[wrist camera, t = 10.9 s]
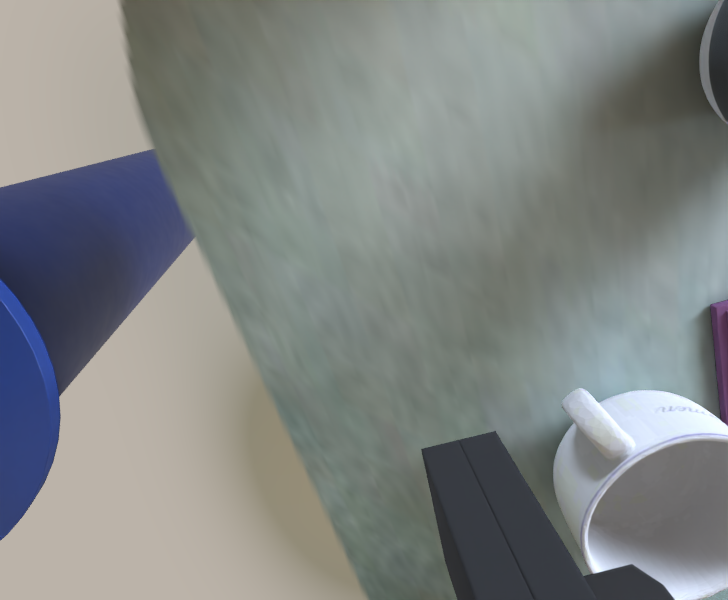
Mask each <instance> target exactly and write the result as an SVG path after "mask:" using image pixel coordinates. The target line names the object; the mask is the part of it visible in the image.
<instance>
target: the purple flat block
mask: <svg viewBox="0 0 728 600" xmlns="http://www.w3.org/2000/svg"><path fill="white" fill-rule="evenodd" d="M710 308H711V319H712V329H713V340H714V350H715V361H716V372H717V382H718V393H719V403H720V414H721V421H722V422H723V423H725V424H726V425H727V426H728V300H725V301H722V302H718V303H715V304H711V305H710Z"/></svg>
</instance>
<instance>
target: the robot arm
mask: <svg viewBox="0 0 728 600" xmlns="http://www.w3.org/2000/svg"><path fill="white" fill-rule="evenodd" d="M421 450H422V455H423V459H424V464H425V469H426V473H427V478H428V483H429V488H430V492H431V497H432V502H433V506H434V511H435V516H436V520H437V525H438V530H439V534H440V539H441V544H442V548H443V553H444V558H445V562H446V565H447V568H448V572H449V575H450V578H451V581H452V584H453V587H454V590H455V594H456V597H457V600H675V599H674V598H673V597H672V595H671V594H670V593H669V591H668V590H667V589H666V587H665V586H664V585H663V584H661V583H660V582H658V581H657V580H655V579H654V578H652V577H651V576H649V575H648V574H646V573H645V572H643V571H642V570H640V569H639V568H637V567H636V566H634V565H633V564H630V565H626V566H622V567H618V568H614V569H610V570H606V571H602V572H598V573H594V574H590V575H586V576H583V575H582V573H581V572H580V570H579V568H578V567H577V565H576V563H575V562H574V560H573V558H572V557H571V555H570V553H569V552H568V550H567V548H566V547H565V545H564V544H563V542H562V540H561V539H560V537H559V535H558V534H557V532H556V530H555V529H554V527H553V525H552V524H551V522H550V520H549V519H548V517H547V515H546V514H545V512H544V511H543V509H542V507H541V506H540V504H539V502H538V501H537V499H536V497H535V496H534V494H533V492H532V491H531V489H530V487H529V486H528V484H527V482H526V481H525V479H524V478H523V476H522V474H521V473H520V471H519V469H518V468H517V466H516V464H515V463H514V461H513V459H512V458H511V456H510V454H509V453H508V451H507V449H506V448H505V446H504V445H503V443H502V441H501V440H500V438H499V436H498V435H497V433H496V431H494V432H490V433H486V434H482V435H477V436H473V437H469V438H465V439H461V440H457V441H453V442H449V443H444V444H440V445H436V446H432V447H428V448H424V449H421Z"/></svg>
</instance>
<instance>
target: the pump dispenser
mask: <svg viewBox="0 0 728 600" xmlns="http://www.w3.org/2000/svg"><path fill="white" fill-rule="evenodd" d="M699 68H700V77H701V82H702V86H703V89H704V92H705V94H706V97H707V99H708V101H709V103H710V104H711V106H712V108H713V109H714V111H715V112H716V113H717V114H718V115H719V117H720V118H721V119H722V120H723V121H724V122H725V123H726V124H728V0H719V1H718V3H717V4H716V6H715V8H714V10H713V12H712V13H711V15H710V18H709V20H708V22H707V25H706V28H705V30H704V34H703V38H702V42H701V47H700V57H699Z"/></svg>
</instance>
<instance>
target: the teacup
mask: <svg viewBox="0 0 728 600" xmlns="http://www.w3.org/2000/svg"><path fill="white" fill-rule="evenodd" d="M561 405H562V408H563V409H564V410H565V411H566V413H567V414H568V415H569V417H570V418H571V419H572V421H573V422H574V423H573V425H572V426H571V427H570V428H569V430H568V431H567V432H566V434H565V435H564V437H563V439H562V441H561V443H560V445H559V447H558V450H557V453H556V456H555V461H554V468H553V483H554V489H555V494H556V497H557V500H558V504H559V506H560V509H561V511H562V513H563V516H564V518H565V520H566V522H567V525H568V527H569V529H570V531H571V533H572V535H573V537H574V538H575V540H576V542H577V544H578V546H579V548H580V550H581V552H582V555H583V558H584V561H585V564H586V565H587V567H588V569H589V571H590V572H591V574H594V573H598V572H602V571H606V570H610V569H614V568H618V567H622V566H626V565H630V564H633V565H634V566H636V567H637V568H639V569H640V570H642V571H643V572H645V573H646V574H648V575H649V576H651V577H652V578H654V579H655V580H657V581H658V582H660V583H661V584H663V585H664V586H665V587H666V589H667V590H668V591H669V593H670V594H671V595H672V597H673V598H674V599H675V600H701V599H704V598H707V597H710V596H712V595H714V594H716V593H718V592H721V591H723V590H726V589H728V426H727V425H726V424H725V423H723V422H722V421H721V420H720V419H718V418H717V417H716V416H714V415H713V414H711V413H710V412H709V411H707V410H706V409H704V408H703V407H701V406H700V405H698V404H696V403H694V402H693V401H691V400H689V399H687V398H684V397H682V396H679V395H676V394H673V393H669V392H663V391H657V390H639V391H631V392H626V393H622V394H618V395H615V396H612V397H610V398H607V399H605V400H603V401H601V402H599V403H598V402H597V401H596V400H595V399H594V398H593V397H592V395H591V394H589V393H588V392H587V391H586V390H585V389H583V388H579V389H576V390H574V391H572V392H571V393H569V394H568V395H567V396H566V397H565V398H564V399H563V401H562V404H561Z"/></svg>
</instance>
